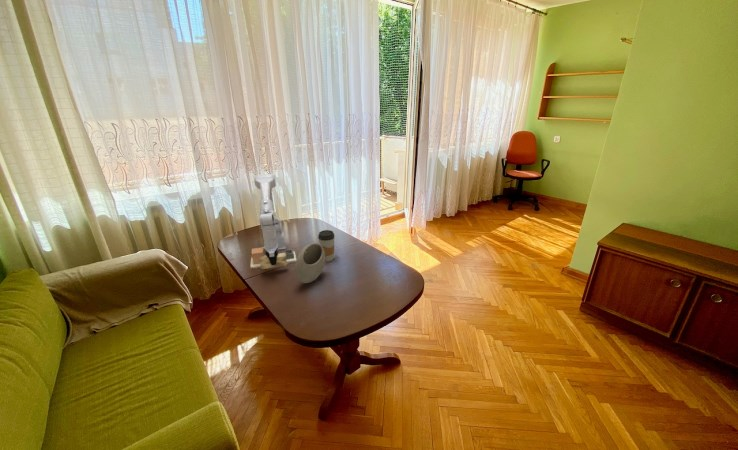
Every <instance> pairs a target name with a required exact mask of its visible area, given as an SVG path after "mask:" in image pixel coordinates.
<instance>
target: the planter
mask: <svg viewBox="0 0 738 450" xmlns="http://www.w3.org/2000/svg"><path fill="white" fill-rule="evenodd" d="M325 264H326V261H325V252H324V249H323V247H322V246H321V245H320V243H319V242H312V243H309V244H307V245H305V246H304V247H303V248H302V249H301V250H300V251H299V252H298V255H297V256H296V262H295V265H294V272H295V277H296V279H297V280H298V281H299V282H300V283H302V284H309V283H313V282H314V281H316V280H317V279H318V277H319V276H320V275H321V273H322V272H323V270H324V267H325Z"/></svg>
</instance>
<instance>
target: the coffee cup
mask: <svg viewBox="0 0 738 450" xmlns="http://www.w3.org/2000/svg"><path fill="white" fill-rule="evenodd" d="M317 238H318V241H319V242H318V243H319V244H320V245H321V246H322V247H323V249H324V252H325V263H326V262H332V261H333V260H334V258H335V233H334V231H332V230H330V229H329V230H328V229H324V230H320V231H319V233H318V236H317Z"/></svg>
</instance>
